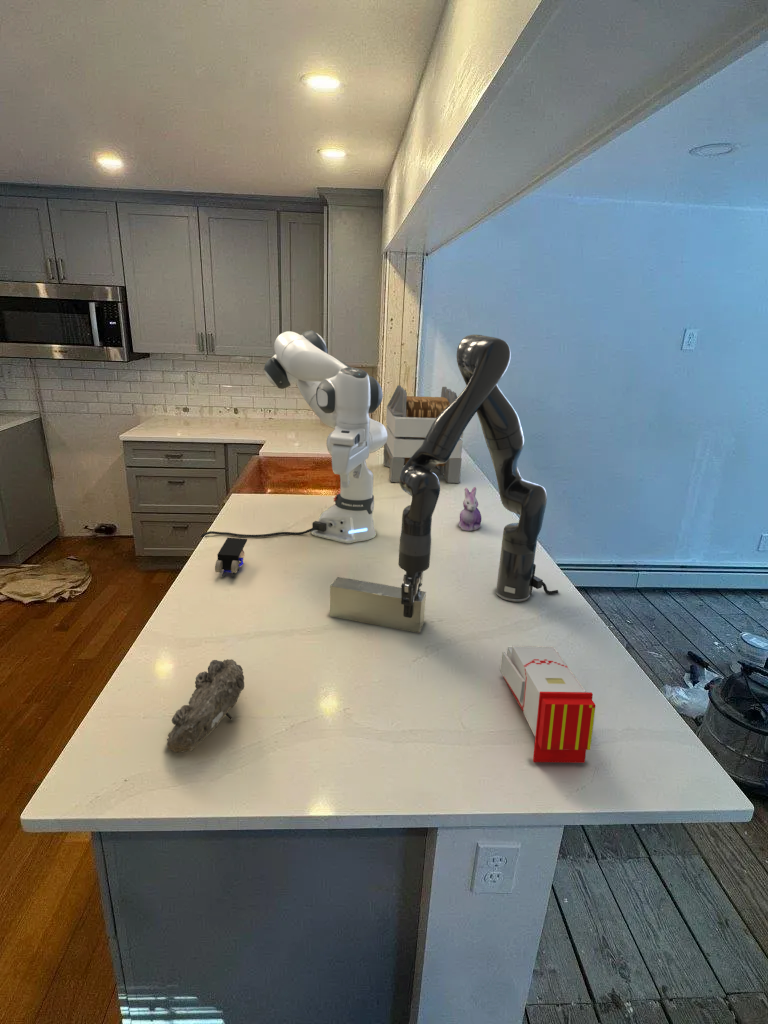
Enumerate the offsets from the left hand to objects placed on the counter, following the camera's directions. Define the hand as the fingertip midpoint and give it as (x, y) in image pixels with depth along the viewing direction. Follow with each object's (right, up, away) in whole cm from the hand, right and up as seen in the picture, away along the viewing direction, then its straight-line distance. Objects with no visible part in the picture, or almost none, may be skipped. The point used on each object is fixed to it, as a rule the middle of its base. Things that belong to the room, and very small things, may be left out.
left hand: (351, 482), depth 154 cm
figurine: (+40, -14, +55) cm, 70 cm away
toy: (+39, -48, -40) cm, 74 cm away
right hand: (+16, -33, -13) cm, 38 cm away
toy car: (-36, -25, +14) cm, 46 cm away
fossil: (-24, -47, -46) cm, 70 cm away
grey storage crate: (+26, +11, +121) cm, 124 cm away
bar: (+7, -35, -9) cm, 37 cm away
